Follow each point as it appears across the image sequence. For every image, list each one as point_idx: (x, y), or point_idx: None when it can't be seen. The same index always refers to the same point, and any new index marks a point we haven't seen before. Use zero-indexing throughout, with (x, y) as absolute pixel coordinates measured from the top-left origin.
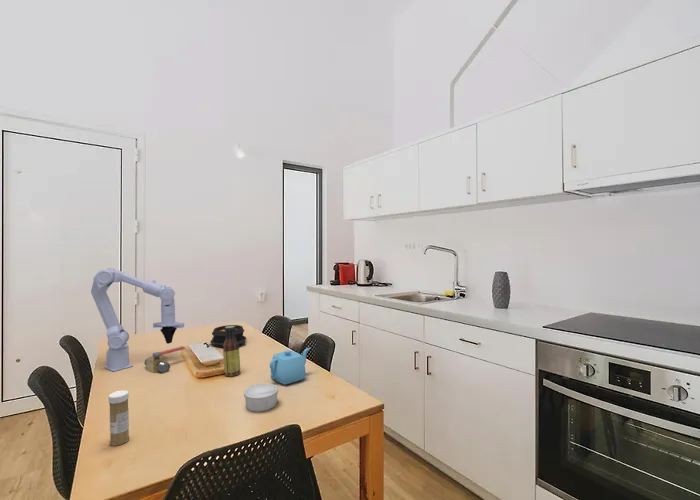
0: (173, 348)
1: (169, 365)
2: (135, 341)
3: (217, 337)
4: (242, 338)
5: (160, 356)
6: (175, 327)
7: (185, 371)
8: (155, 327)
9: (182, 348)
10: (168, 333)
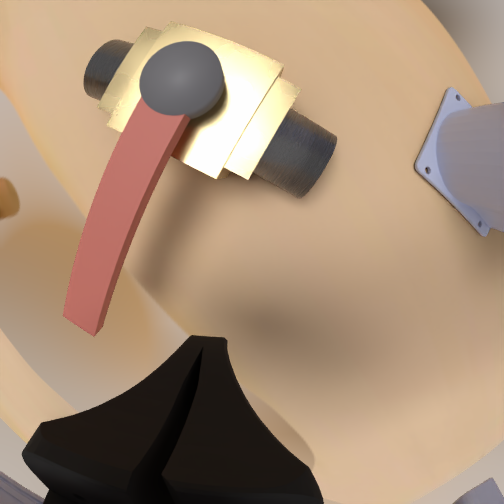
0: (115, 267)
1: (88, 91)
2: (481, 436)
3: None
4: None
5: (183, 133)
6: (21, 487)
7: (36, 123)
8: (458, 498)
9: (70, 296)
10: (111, 410)
